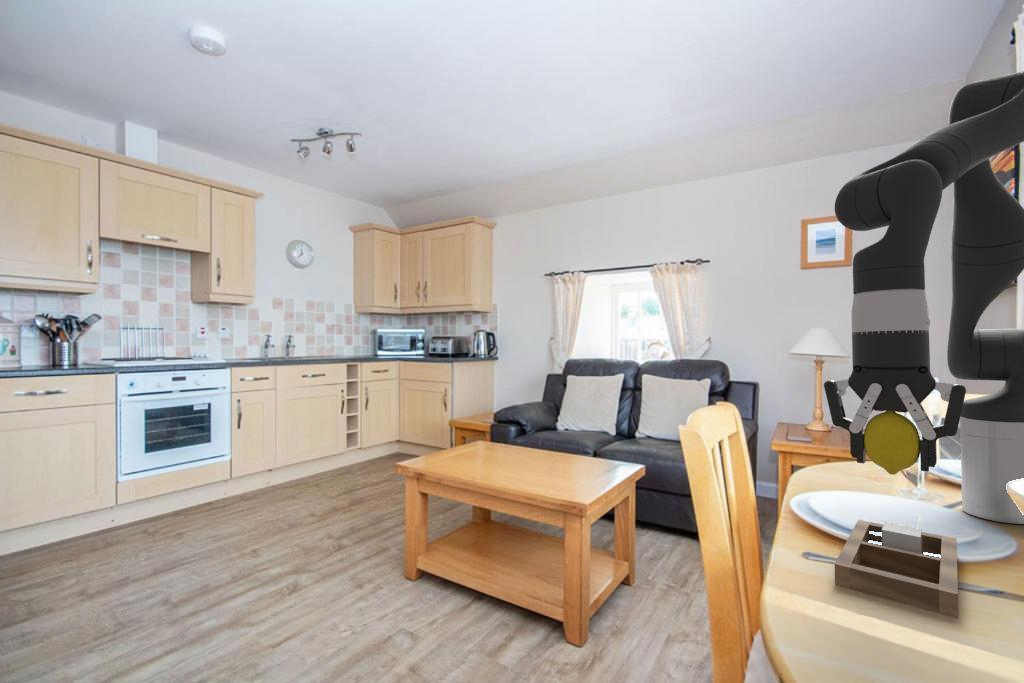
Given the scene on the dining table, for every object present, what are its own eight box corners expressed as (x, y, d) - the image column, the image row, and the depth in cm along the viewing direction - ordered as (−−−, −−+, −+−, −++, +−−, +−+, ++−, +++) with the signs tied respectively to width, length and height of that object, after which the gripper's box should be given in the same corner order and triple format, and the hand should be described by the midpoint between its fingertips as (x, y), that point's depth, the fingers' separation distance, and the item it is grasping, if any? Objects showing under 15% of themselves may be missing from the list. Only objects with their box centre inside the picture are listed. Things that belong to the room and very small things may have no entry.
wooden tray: (858, 546, 73) (858, 519, 73) (957, 567, 66) (956, 538, 66) (835, 596, 58) (834, 563, 58) (958, 632, 51) (957, 594, 51)
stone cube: (885, 550, 68) (884, 521, 68) (922, 558, 65) (921, 528, 65) (882, 559, 65) (881, 529, 65) (921, 568, 62) (920, 537, 62)
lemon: (900, 469, 61) (898, 407, 62) (933, 481, 56) (931, 412, 56) (854, 468, 62) (852, 406, 62) (882, 480, 56) (881, 412, 57)
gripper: (814, 330, 62) (817, 462, 61) (969, 325, 52) (974, 483, 51) (826, 332, 67) (829, 453, 67) (968, 327, 57) (972, 470, 57)
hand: (892, 465), depth 59 cm, fingers closed on lemon, 5 cm apart
